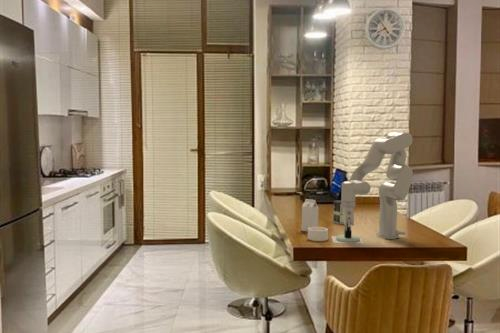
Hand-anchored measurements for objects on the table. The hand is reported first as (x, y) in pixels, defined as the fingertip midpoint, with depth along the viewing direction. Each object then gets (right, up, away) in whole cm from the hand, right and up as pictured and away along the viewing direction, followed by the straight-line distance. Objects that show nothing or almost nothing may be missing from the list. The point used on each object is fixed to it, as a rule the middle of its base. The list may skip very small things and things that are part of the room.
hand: (347, 236), depth 270 cm
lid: (0, -1, 0) cm, 1 cm away
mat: (0, -2, 0) cm, 2 cm away
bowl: (-16, -2, +2) cm, 17 cm away
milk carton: (-18, 0, +25) cm, 31 cm away
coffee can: (+6, +2, +53) cm, 54 cm away
